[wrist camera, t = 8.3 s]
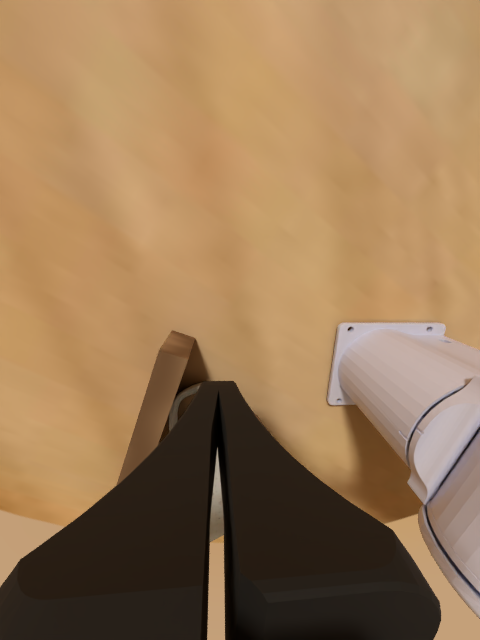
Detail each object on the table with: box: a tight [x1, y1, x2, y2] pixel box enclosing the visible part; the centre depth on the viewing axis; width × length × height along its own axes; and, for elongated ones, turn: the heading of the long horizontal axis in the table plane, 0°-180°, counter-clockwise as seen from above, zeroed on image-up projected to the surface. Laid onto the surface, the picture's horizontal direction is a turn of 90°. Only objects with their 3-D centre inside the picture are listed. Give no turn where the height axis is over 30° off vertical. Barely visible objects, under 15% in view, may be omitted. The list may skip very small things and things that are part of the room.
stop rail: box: [117, 331, 195, 485], centre depth 20 cm, size 2×20×4 cm, turn 159°
